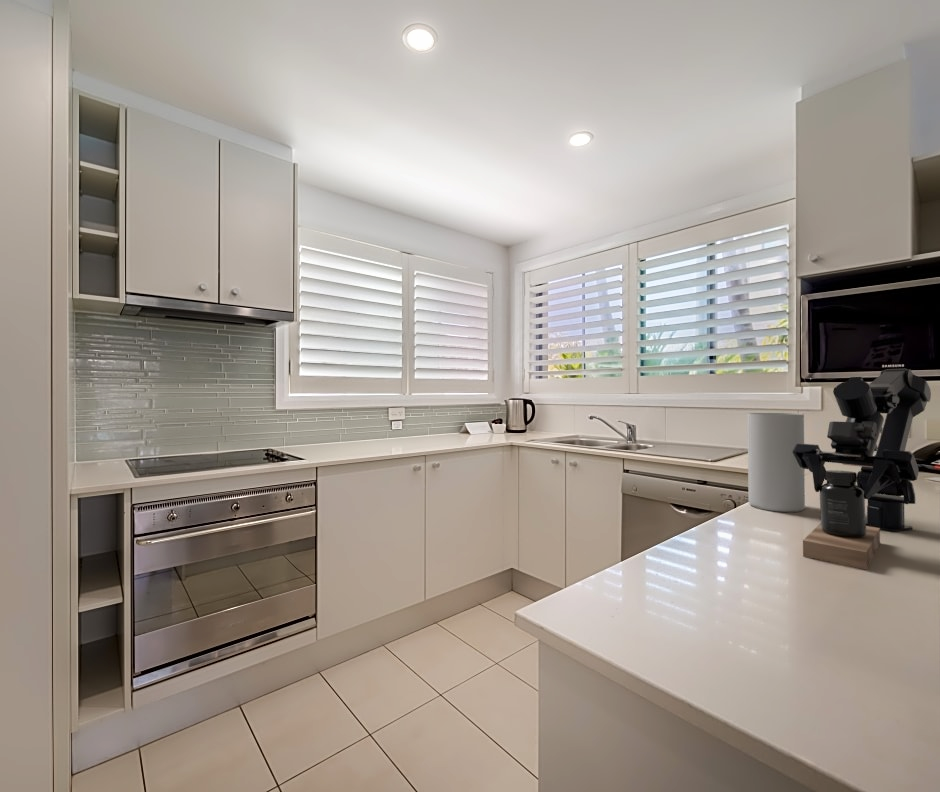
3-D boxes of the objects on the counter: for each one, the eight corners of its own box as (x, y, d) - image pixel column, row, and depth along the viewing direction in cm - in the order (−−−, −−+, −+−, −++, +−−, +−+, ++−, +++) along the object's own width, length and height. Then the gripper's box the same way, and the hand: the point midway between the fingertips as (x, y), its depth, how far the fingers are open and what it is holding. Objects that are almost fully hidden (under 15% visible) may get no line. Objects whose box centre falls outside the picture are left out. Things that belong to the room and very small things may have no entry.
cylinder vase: (755, 511, 118) (754, 414, 118) (743, 500, 129) (742, 412, 129) (812, 514, 114) (811, 414, 114) (794, 503, 126) (793, 412, 125)
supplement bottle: (876, 537, 85) (873, 473, 86) (843, 538, 85) (840, 474, 85) (843, 528, 92) (841, 468, 93) (812, 529, 92) (809, 469, 92)
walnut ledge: (824, 533, 98) (824, 519, 98) (879, 542, 92) (879, 528, 92) (803, 556, 85) (802, 540, 85) (866, 569, 78) (866, 552, 78)
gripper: (795, 406, 98) (772, 461, 92) (913, 407, 83) (893, 474, 77) (811, 440, 103) (790, 495, 97) (926, 447, 87) (908, 514, 81)
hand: (839, 494), depth 88 cm, fingers open, 7 cm apart
